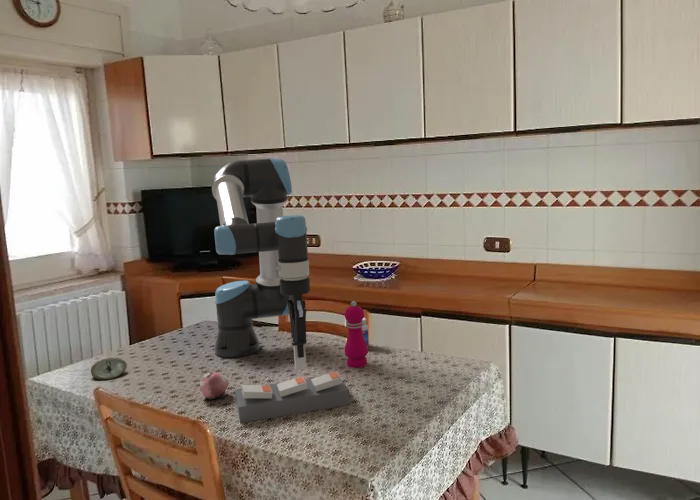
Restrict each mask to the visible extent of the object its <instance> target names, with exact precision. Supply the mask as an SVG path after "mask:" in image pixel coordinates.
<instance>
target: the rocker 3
mask: <svg viewBox="0 0 700 500" xmlns="http://www.w3.org/2000/svg"><path fill="white" fill-rule="evenodd" d="M310 379H311V378H310ZM341 379H342V378H341V375H340V374H339V373H338V372H337V371H335V370H334V371H332V372H329V373H326V374H322V375H319V376H317V377H313V379H311V382H312V385H313V387H314V389H315V390H316V392H317V391H320V390H323V389H326V388H329V387H332V386H335V385H338V384H341V383H342V381H343V379H342V380H341Z"/></svg>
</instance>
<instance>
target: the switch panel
mask: <svg viewBox="0 0 700 500" xmlns="http://www.w3.org/2000/svg"><path fill="white" fill-rule="evenodd" d="M313 378H314V377H313ZM313 378H312V377H311V378H306V379H305V378H304V379H305V381H306V383H307V387H308V388H307V389H304V390H301V391H298V392H295V393H292V394H289V395H286V396H283V397H281V395H280V393H279V390H278V387H277V384H279V383H280V382H278V383H272V384H269V385H270V387H271V390H272V399H269V398H243V394H242V388H237V389H234V393H235V394H234V395H235V405H236V409H237V416H238V419H239V420H238V421H239V423H240V424H241V423H246V422H253V421H260V420H265V419H271V418H278V417H282V416H288V415H290V416H291V415H297V414H302V413H310V412H314V411H320V410H326V409H333V408H340V407H346V406H351V397H350V396H351V395H350V393H351V392H350V389H349V388H348V386H347V385H346V383H345V382H344V381H343V379H342V378H341V380H342V383H341V384H338V385H335V386H332V387H329V388H326V389H323V390H320V391H317V392H316V390H315V389H314V387H313V385H312V382H311V379H313Z"/></svg>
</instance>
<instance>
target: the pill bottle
mask: <svg viewBox="0 0 700 500" xmlns="http://www.w3.org/2000/svg"><path fill="white" fill-rule="evenodd" d="M362 321H363V326H362V334H363V338H364V340H365V342H366V344H367V347H368V348H369V346H370V342H369V338H370V337H369V336H370V335H369V326H368V324H366V323H367V318H366V317H364V318H363V319H362Z"/></svg>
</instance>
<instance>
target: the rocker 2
mask: <svg viewBox="0 0 700 500" xmlns="http://www.w3.org/2000/svg"><path fill="white" fill-rule="evenodd" d="M278 383H279V384H277V383H276V384H277V387H278V390H279V393H280V395H281V397H283V396H286V395H289V394H292V393H295V392H298V391H301V390H304V389H307V388H308V387H307V383H306V381H305V378H304V376H303V375H301V376H298V377H296V378H292V379H289V380H286V381H282V382H278Z"/></svg>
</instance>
